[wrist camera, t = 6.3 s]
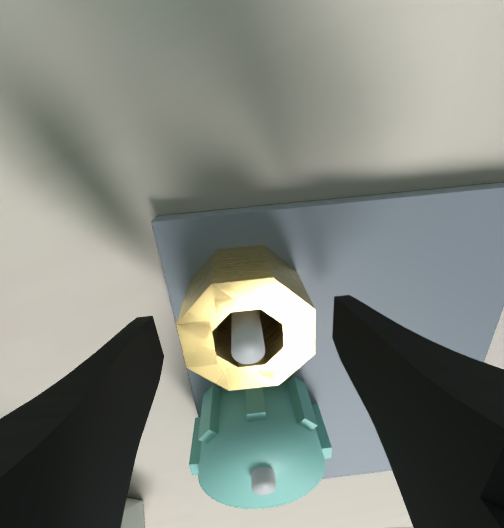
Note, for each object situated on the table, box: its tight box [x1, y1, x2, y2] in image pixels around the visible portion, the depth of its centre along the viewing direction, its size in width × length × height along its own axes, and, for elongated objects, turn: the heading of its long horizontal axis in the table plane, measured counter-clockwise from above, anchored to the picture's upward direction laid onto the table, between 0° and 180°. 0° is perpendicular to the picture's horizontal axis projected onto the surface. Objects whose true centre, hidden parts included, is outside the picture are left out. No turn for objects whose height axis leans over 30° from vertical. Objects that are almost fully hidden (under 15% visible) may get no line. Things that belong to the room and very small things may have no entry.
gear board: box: [151, 182, 504, 509], centre depth 14 cm, size 17×20×5 cm
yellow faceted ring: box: [176, 245, 316, 391], centre depth 12 cm, size 5×5×3 cm
